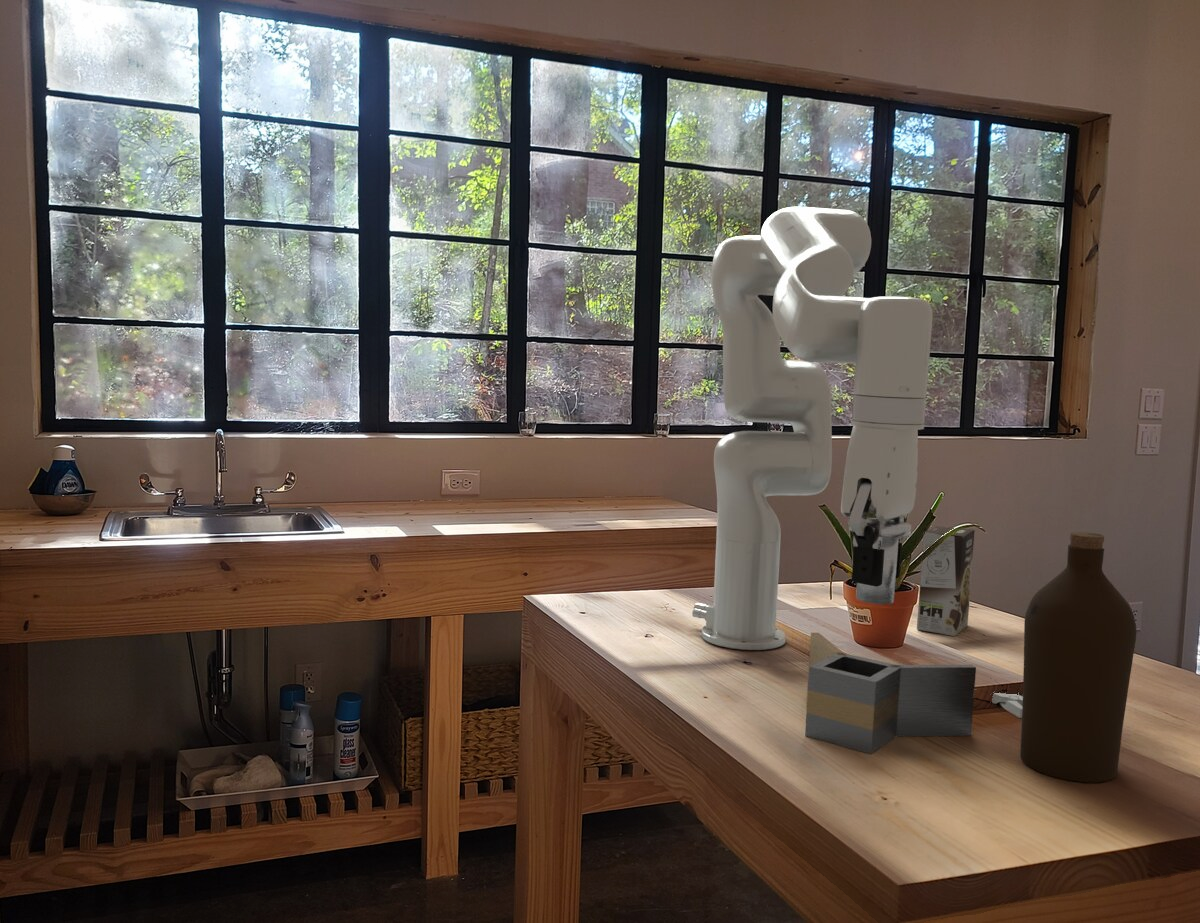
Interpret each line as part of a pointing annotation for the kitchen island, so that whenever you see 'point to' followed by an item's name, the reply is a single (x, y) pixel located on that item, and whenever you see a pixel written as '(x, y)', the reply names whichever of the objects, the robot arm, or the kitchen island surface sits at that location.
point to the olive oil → (1077, 669)
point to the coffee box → (946, 582)
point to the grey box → (883, 699)
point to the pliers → (1009, 702)
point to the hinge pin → (885, 564)
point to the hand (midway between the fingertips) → (876, 578)
